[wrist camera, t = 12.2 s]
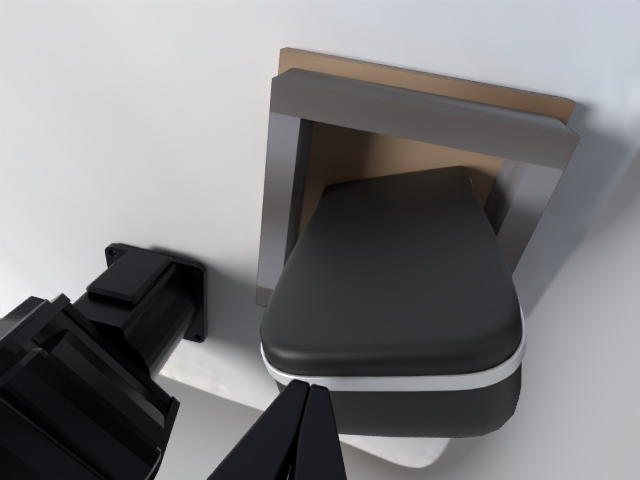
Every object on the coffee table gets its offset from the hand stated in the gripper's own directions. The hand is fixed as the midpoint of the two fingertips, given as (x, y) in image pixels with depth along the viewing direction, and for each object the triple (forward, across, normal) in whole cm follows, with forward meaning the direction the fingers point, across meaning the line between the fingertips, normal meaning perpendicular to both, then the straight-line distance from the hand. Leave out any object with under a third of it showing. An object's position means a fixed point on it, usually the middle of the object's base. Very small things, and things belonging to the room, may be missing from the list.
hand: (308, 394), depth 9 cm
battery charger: (+12, -2, +1) cm, 12 cm away
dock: (+13, -2, +1) cm, 13 cm away
